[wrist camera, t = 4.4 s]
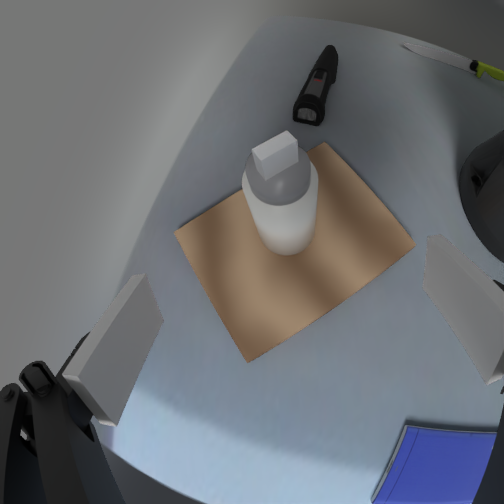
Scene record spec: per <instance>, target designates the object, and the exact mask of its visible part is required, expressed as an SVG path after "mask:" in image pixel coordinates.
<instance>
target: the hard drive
mask: <svg viewBox="0 0 504 504" xmlns="http://www.w3.org/2000/svg"><path fill="white" fill-rule="evenodd" d="M496 435H497V432H475V431H457V430H445V429H434V428H426V427H417V426H410V425H405V426H404V429H403V432H402V434H401V437H400V439H399V442H398V444H397V447H396V449H395V451H394V454H393V456H392V458H391V460H390V463H389V465H388V467H387V469H386V471H385V473H384V476H383V478H382V480H381V482H380V484H379V486H378V487H377V489H376V491H375V493H374V495H373V497H372V499H371V503H372V504H471V503H472V502H473V500H474V497H475V495H476V493H477V490H478V488H479V486H480V483H481V480H482V478H483V475H484V473H485V470H486V467H487V464H488V461H489V458H490V455H491V452H492V449H493V445H494V442H495V438H496Z"/></svg>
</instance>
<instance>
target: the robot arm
mask: <svg viewBox="0 0 504 504" xmlns="http://www.w3.org/2000/svg"><path fill="white" fill-rule="evenodd" d="M460 194H461V199H462V203H463V206H464V209H465V212H466V215H467V217H468V219H469V222H470V224H471V226H472V227H473V229H474V231H475V233H476V234H477V236H478V237H479V239H480V240H481V241H482V243H483V244H484V245H485V247H486V248H487V249H488V250H489V251H490V252H491V253H492V254H493V255H494V256H495V257H496V258H498V259H499V260H500V261H502V262H503V263H504V130H503V131H501V132H500V133H498V134H497V135H495V136H494V137H492V138H490V139H489V140H487V141H486V142H484V143H482V144H481V145H479V146H478V147H476V148H475V149H474V150H473V151H472V152H471V154H470V155H469V157H468V159H467V160H466V162H465V163H464V165H463V167H462V170H461V173H460ZM422 288H423V289H424V291H425V292H426V293H427V295H428V296H429V297H430V299H431V300H432V301H433V303H434V304H435V306H436V307H437V308H438V310H439V311H440V313H441V314H442V315H443V317H444V318H445V320H446V321H447V323H448V324H449V326H450V327H451V329H452V330H453V332H454V333H455V335H456V336H457V338H458V339H459V341H460V342H461V344H462V345H463V347H464V349H465V350H466V352H467V353H468V355H469V356H470V358H471V360H472V361H473V363H474V365H475V366H476V368H477V370H478V371H479V373H480V375H481V377H482V378H483V380H484V382H485V384H486V385H488V384H491V383H493V382H495V381H497V380H499V379H501V378H502V376H503V374H504V285H503V284H501V283H499V282H498V281H496V280H492V279H490V278H489V277H488V276H487V275H486V274H485V273H484V272H483V271H482V270H481V269H480V268H479V267H478V266H477V265H476V264H474V263H473V262H472V261H471V260H470V259H469V258H468V257H467V256H466V255H464V254H463V253H462V252H461V251H460V250H459V249H458V248H456V247H455V246H454V245H453V244H452V243H451V242H449V241H448V240H447V239H446V238H445V237H443V236H442V235H434V236H428V239H427V252H426V262H425V271H424V280H423V287H422ZM163 321H164V320H163V317H162V315H161V312H160V310H159V307H158V304H157V302H156V299H155V297H154V294H153V291H152V289H151V286H150V283H149V281H148V278H147V275H146V274H139V275H132V277H131V278H130V279H129V280H128V282H127V283H126V284H125V286H124V287H123V288H122V290H121V291H120V292H119V294H118V295H117V296H116V298H115V299H114V300H113V302H112V303H111V304H110V306H109V307H108V308H107V310H106V311H105V312H104V314H103V315H102V316H101V318H100V319H99V321H98V322H97V323H96V325H95V326H94V328H93V329H92V331H91V332H89V333H88V334H86V335H85V336H84V337H83V338H82V339H81V340H80V341H79V343H78V344H77V345H76V347H75V348H76V349H74V350H73V351H72V353H71V356H69V357H68V359H67V360H66V362H65V363H64V365H63V366H62V368H61V369H60V371H59V372H58V374H57V375H56V377H55V376H54V375H53V373H52V372H51V371H50V369H49V368H48V366H47V365H46V363H45V362H43V361H35V362H32V363H30V364H29V365H27V366H26V367H25V368H24V369H23V370H22V372H21V373H20V376H19V380H20V382H21V383H22V384H23V386H24V387H25V388H26V389H27V391H28V392H23V391H22V389H21V388H20V387H19V386H18V385H17V384H15V383H11V384H9V385H6V386H5V387H3V389H2V390H1V391H0V504H126V503H125V501H124V499H123V497H122V495H121V492H120V490H119V488H118V486H117V484H116V482H115V479H114V477H113V475H112V472H111V470H110V468H109V465H108V463H107V460H106V458H105V455H104V452H103V450H102V447H101V444H100V442H99V439H98V436H97V433H96V430H95V427H94V425H93V424H92V422H91V421H90V420H91V418H92V416H93V415H94V416H95V417H96V419H97V420H98V421H99V422H100V423H101V424H105V425H110V426H116V427H117V425H118V423H119V420H120V418H121V415H122V413H123V410H124V408H125V406H126V403H127V401H128V399H129V396H130V394H131V392H132V389H133V387H134V385H135V382H136V380H137V378H138V376H139V373H140V371H141V369H142V367H143V364H144V362H145V360H146V358H147V356H148V353H149V351H150V349H151V347H152V345H153V342H154V340H155V338H156V336H157V334H158V332H159V330H160V328H161V325H162V323H163ZM503 393H504V387H503V388H502V390H501V393H500V394H503ZM21 429H22V431H23V432H25V434H27V439H26V440H25V439H24V438H23V437H22V436H20V433H21ZM472 504H504V405H503V410H502V415H501V419H500V423H499V427H498V431H497V435H496V438H495V442H494V445H493V449H492V452H491V455H490V458H489V461H488V464H487V467H486V470H485V473H484V475H483V478H482V480H481V483H480V486H479V488H478V490H477V493H476V495H475V497H474V500H473V502H472Z"/></svg>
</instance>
